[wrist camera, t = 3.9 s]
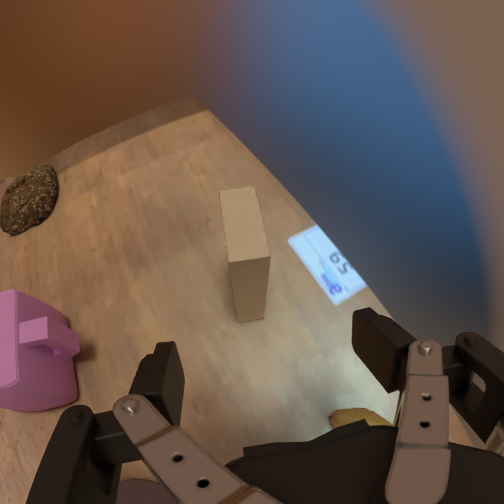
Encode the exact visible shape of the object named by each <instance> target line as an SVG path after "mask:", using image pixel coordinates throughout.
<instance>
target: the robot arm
mask: <svg viewBox="0 0 504 504" xmlns="http://www.w3.org/2000/svg"><path fill="white" fill-rule="evenodd" d="M352 346H353V349H354V352H355V353H356V354H357V356H358V357H359V358H360V359H361V360H362V362H363V363H364V364H365V365H366V367H367V368H368V369H369V370H370V372H371V373H372V374H373V375H374V376H375V378H376V379H377V380H378V381H379V383H380V384H381V385H382V386H383V388H384V389H385V390H386V391H387V393H388V394H389V393H391V392H394V391H396V390H399V391H400V394H399V398H398V403H397V408H396V413H395V418H394V423H393V426H390V425H371V426H369V424H368V423H367V421H366V420H365V418H364V419H361V420H359V421H356V422H353V423H349V424H346V425H343V426H340V427H337V428H335V429H333V430H331V431H329V432H327V433H325V434H323V435H321V436H319V437H317V438H315V439H313V440H311V441H307V442H275V443H269V444H263V445H257V446H251V447H244V448H243V451H244V456H243V457H240V458H237V459H235V460H233V461H231V462H229V463H227V464H225V465H224V466H223V465H222V464H221V463H220V462H219V461H217V460H216V459H215V458H214V457H213V456H211V455H210V454H209V453H208V452H207V451H206V450H204V449H203V448H202V447H201V446H200V445H199V444H198V443H197V442H196V441H194V440H193V439H192V438H191V437H190V436H189V435H188V434H187V433H186V432H185V431H184V430H183V429H182V428H181V427H180V420H181V410H182V402H183V393H184V385H185V377H184V371H183V368H182V364H181V361H180V357H179V354H178V350H177V347H176V344H175V342H174V341H170V342H159V343H157V344H156V347H155V350H154V353H153V354H147V355H146V356H145V357H144V358H143V359H142V360H141V362H140V364H139V367H138V370H137V372H136V376H135V377H134V380H133V383H132V386H131V388H130V391H129V394H128V395H126V396H123V397H121V398H120V399H118V400H117V401H116V402H115V403H114V405H113V408H112V411H108V412H103V413H98V414H93V412H92V410H91V409H90V408H89V407H88V406H85V405H75V406H72V407H69V408H68V409H66V410H65V411H64V412H63V413H62V415H61V417H60V419H59V421H58V423H57V425H56V427H55V430H54V432H53V434H52V436H51V439H50V441H49V443H48V446H47V448H46V450H45V453H44V455H43V458H42V460H41V463H40V465H39V468H38V470H37V473H36V476H35V478H34V481H33V484H32V487H31V489H30V492H29V495H28V498H27V501H26V504H116V500H117V493H118V486H119V479H120V473H121V467H122V463H127V462H132V461H136V460H142V461H143V462H144V464H145V465H146V466H147V468H148V469H149V470H150V472H151V473H152V474H153V475H154V477H155V478H156V479H157V480H158V481H159V483H160V484H161V485H162V486H163V487H164V489H165V490H166V491H167V492H168V493H169V495H170V496H171V497H172V498H173V499H174V500H175V502H176V503H177V504H504V353H503V352H502V351H501V350H499V349H498V348H497V347H495V346H494V345H493V344H491V343H490V342H489V341H487V340H486V339H484V338H483V337H482V336H480V335H479V334H476V333H473V332H463V333H460V334H459V335H458V336H457V337H456V341H455V345H452V346H446V347H441V346H440V345H439V344H438V343H437V342H435V341H433V340H430V339H419V340H417V339H416V338H414V337H413V336H412V335H411V334H409V333H408V332H407V331H406V330H404V329H403V328H402V327H401V326H399V325H398V324H397V323H396V322H395V321H393V320H392V319H391V318H389V317H386V316H383V315H379V314H377V313H376V312H375V311H374V310H373V309H371V308H370V307H368V308H364V309H360V310H356V311H354V312H353V320H352ZM475 373H476V374H478V375H479V376H480V377H481V378H482V379H483V380H484V382H485V385H486V390H485V393H484V392H483V391H482V390H481V389H480V388H479V387H478V386H477V385H476V384H474V383H473V382H472V380H473V378H474V375H475ZM449 402H450V404H451V405H452V406H453V407H454V408H455V409H456V410H457V412H458V413H459V414H460V415H461V416H462V417H463V419H465V421H466V422H467V423H468V424H469V425H470V427H471V428H472V429H473V430H474V432H475V433H476V434H477V435H478V436H479V438H480V439H481V440H482V441H483V442H484V443H485V449H486V450H483V449H478V448H473V447H469V446H464V445H460V444H456V443H452V442H448V434H449Z"/></svg>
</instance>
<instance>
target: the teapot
mask: <svg viewBox="0 0 504 504" xmlns="http://www.w3.org/2000/svg"><path fill="white" fill-rule="evenodd" d="M79 352H80V347H79V338H78V333H77V332H75V331H74V330H72V329H70V328H68V324H67V321H66V319H65V318H64V317H63V315H62V314H61V313H60V312H59V311H57V310H56V309H55V308H53V307H51V306H50V305H48V304H46V303H44V302H42V301H40V300H38V299H36V298H34V297H32V296H29V295H27V294H25V293H22V292H20V291H17V290H14V289H12V290H6V291H3V292H0V407H1V408H4V409H9V410H14V411H25V412H31V411H42V410H46V409H51V408H55V407H59V406H62V405H65V404H68V403H71V402H73V401H74V400H76V399H77V386H76V379H75V372H74V365H73V356H74V355H76V354H78V353H79Z"/></svg>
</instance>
